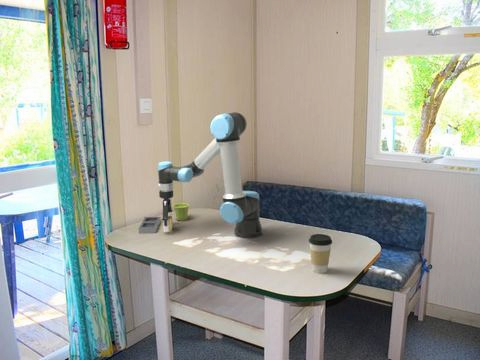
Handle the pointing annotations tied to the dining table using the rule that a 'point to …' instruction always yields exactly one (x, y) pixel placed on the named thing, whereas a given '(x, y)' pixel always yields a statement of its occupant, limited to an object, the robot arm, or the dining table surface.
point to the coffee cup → (320, 252)
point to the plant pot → (181, 211)
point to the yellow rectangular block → (170, 223)
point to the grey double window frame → (150, 225)
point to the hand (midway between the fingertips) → (167, 227)
